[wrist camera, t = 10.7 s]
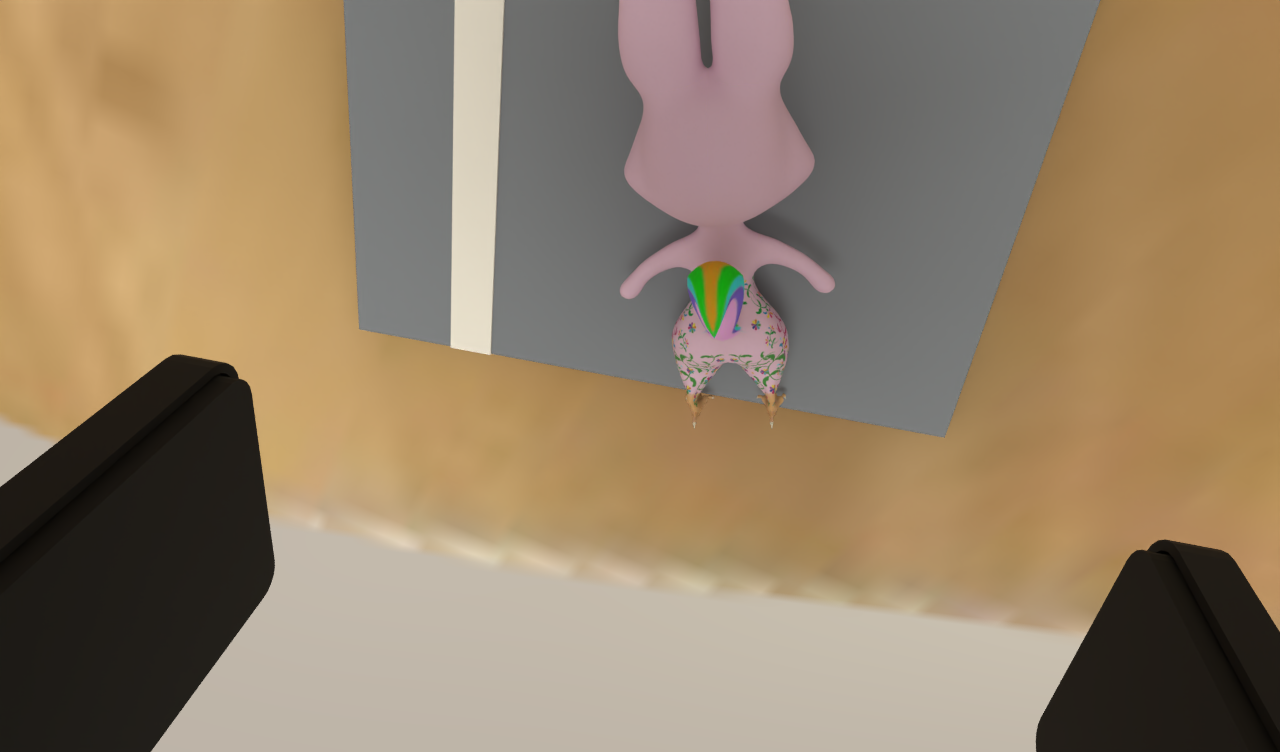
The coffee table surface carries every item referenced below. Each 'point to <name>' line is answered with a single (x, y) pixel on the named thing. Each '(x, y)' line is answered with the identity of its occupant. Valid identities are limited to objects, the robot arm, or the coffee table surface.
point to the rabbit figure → (717, 176)
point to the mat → (636, 229)
